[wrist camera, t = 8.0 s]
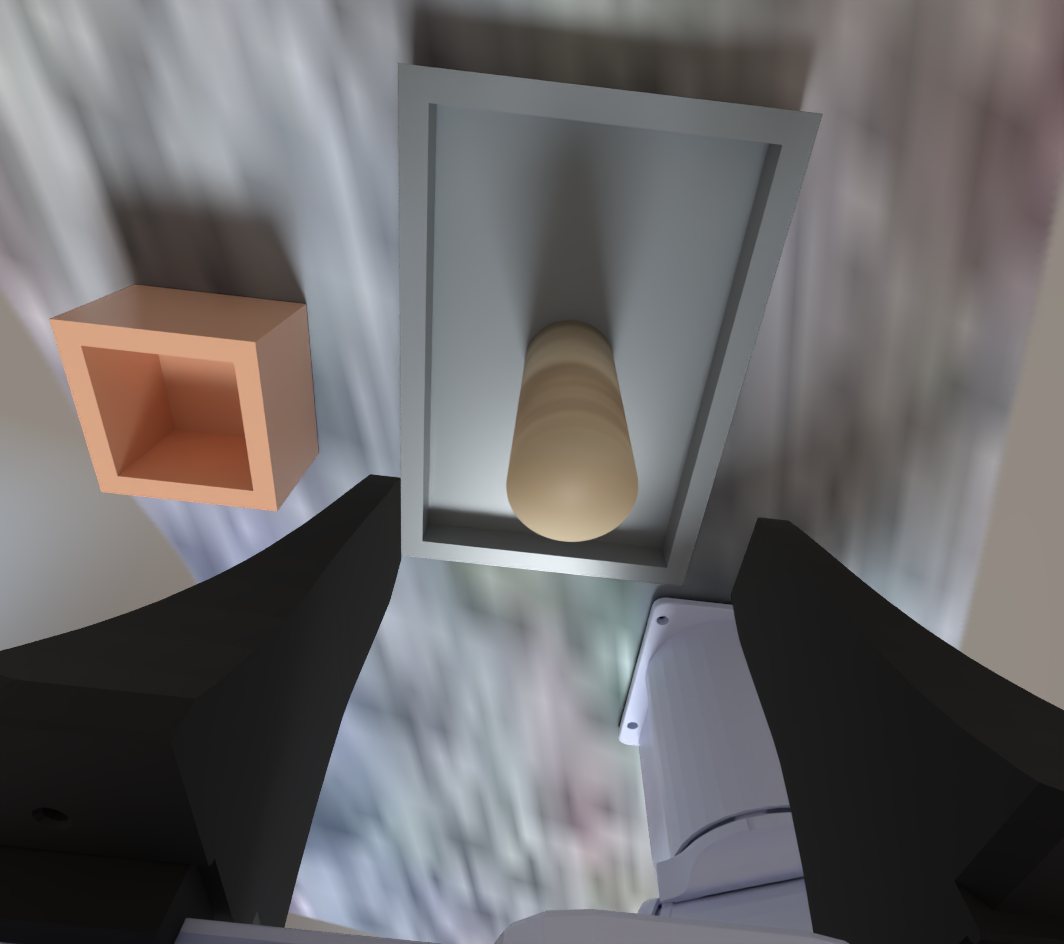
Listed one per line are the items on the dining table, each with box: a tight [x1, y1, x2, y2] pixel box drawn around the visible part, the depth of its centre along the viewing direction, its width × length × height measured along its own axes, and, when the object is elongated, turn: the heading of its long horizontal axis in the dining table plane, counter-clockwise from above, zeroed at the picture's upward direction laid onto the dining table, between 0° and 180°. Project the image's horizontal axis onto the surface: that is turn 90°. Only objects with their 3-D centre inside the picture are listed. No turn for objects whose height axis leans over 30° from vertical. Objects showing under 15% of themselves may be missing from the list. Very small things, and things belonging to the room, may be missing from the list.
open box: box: [49, 284, 319, 511], centre depth 21 cm, size 6×6×4 cm
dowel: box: [506, 320, 638, 542], centre depth 17 cm, size 3×3×8 cm
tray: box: [398, 63, 822, 586], centre depth 21 cm, size 16×11×2 cm
